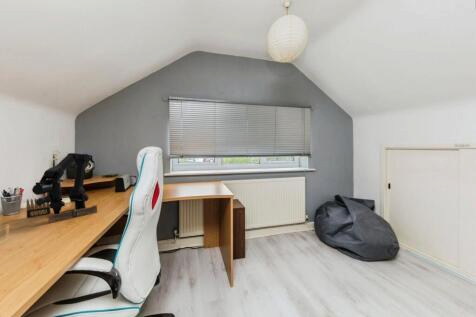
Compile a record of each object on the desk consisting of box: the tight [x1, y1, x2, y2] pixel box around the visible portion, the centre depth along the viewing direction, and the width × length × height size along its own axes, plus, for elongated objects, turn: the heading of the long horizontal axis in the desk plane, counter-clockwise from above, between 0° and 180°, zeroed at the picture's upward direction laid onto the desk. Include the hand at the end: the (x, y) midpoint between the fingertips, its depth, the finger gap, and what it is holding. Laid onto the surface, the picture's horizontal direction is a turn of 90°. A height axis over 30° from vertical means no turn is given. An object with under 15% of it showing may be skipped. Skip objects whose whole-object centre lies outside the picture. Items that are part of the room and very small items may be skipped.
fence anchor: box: [71, 204, 98, 219], centre depth 125 cm, size 2×12×5 cm, turn 139°
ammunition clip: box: [25, 197, 52, 219], centre depth 124 cm, size 11×2×12 cm, turn 127°
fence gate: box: [47, 210, 73, 224], centre depth 116 cm, size 2×10×4 cm, turn 139°
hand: (56, 216), depth 118 cm, fingers closed
